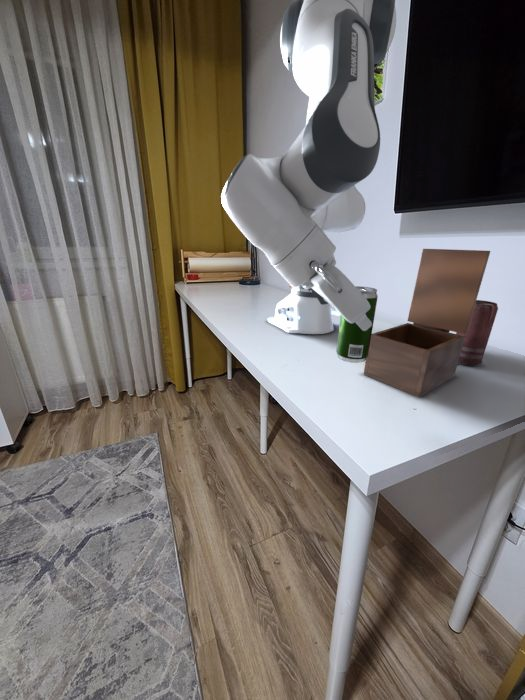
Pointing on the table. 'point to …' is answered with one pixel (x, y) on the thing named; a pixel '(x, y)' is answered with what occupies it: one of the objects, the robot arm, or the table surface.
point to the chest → (413, 357)
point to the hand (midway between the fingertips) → (360, 321)
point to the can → (478, 333)
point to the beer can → (357, 332)
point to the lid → (447, 288)
